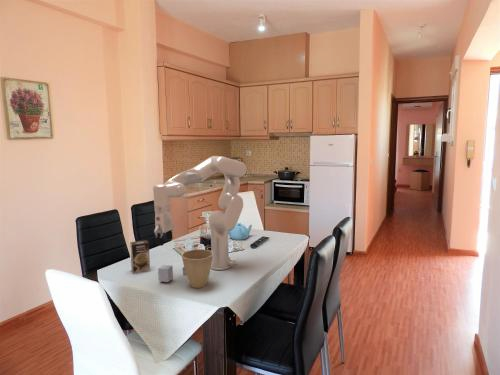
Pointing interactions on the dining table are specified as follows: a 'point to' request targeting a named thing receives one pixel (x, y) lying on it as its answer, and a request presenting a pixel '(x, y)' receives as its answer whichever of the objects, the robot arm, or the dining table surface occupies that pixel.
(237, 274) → the dining table surface
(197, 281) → the plant pot
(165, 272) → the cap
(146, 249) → the coffee box
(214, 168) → the robot arm
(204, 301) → the dining table surface
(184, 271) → the short post
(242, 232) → the teapot
